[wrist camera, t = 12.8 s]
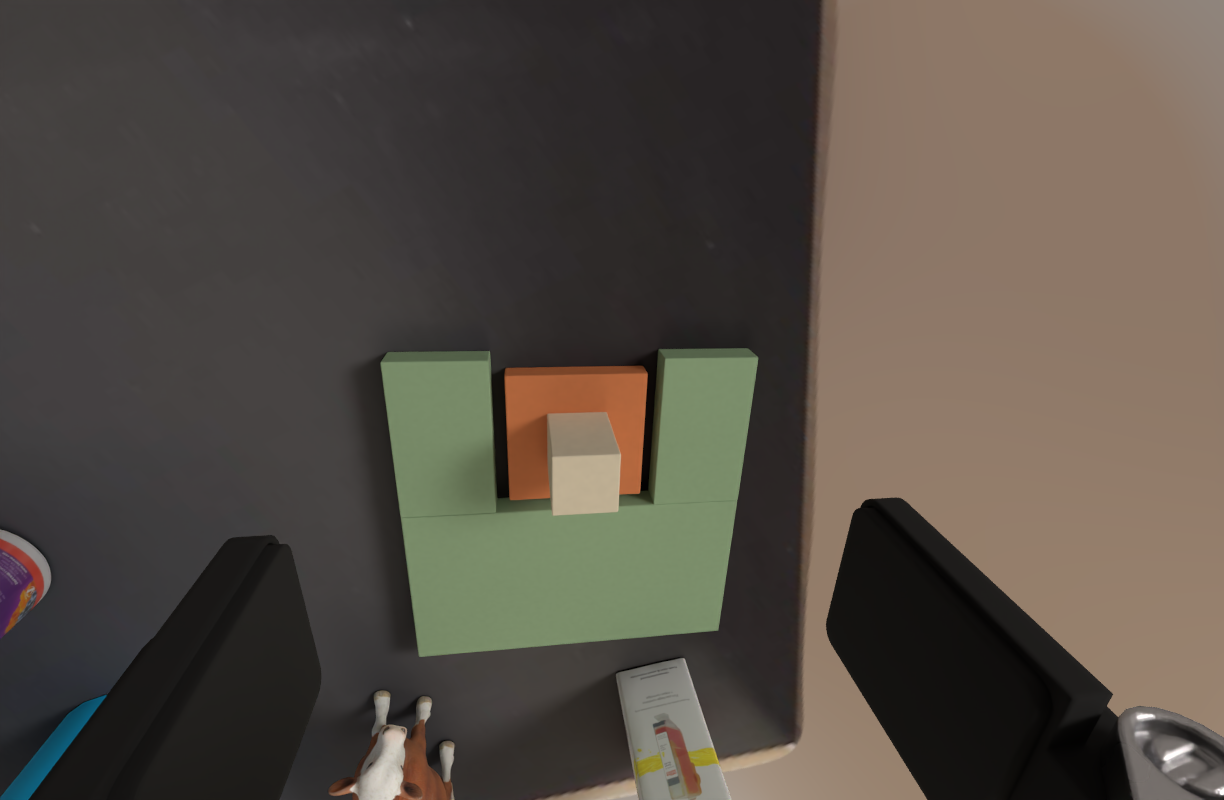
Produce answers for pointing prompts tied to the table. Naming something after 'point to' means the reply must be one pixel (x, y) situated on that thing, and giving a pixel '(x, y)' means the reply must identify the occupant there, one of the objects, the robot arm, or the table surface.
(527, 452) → the terracotta pad
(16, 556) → the pill bottle
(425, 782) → the bull figurine
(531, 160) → the table surface
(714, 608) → the green mat
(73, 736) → the mug
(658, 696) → the ink box
